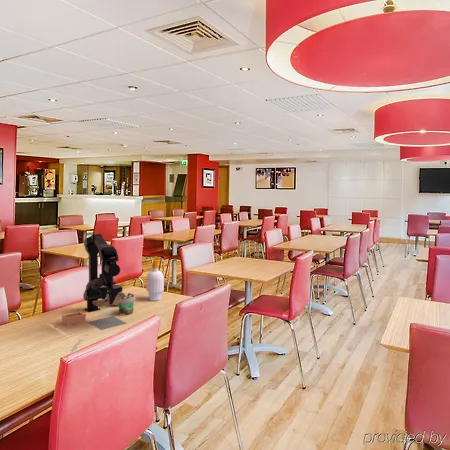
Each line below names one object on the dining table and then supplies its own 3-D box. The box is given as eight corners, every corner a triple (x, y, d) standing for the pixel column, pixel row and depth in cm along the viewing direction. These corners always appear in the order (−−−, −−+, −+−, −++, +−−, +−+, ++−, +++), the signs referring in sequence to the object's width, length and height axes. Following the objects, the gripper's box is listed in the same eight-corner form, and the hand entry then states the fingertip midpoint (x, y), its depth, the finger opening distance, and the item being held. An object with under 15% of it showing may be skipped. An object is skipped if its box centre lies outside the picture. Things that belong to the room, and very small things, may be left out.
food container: (129, 318, 206) (129, 300, 205) (118, 317, 207) (118, 299, 206) (138, 311, 218) (139, 293, 217) (128, 310, 219) (128, 292, 218)
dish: (62, 324, 195) (61, 315, 194) (80, 320, 201) (80, 311, 201) (66, 327, 191) (66, 318, 190) (85, 323, 198) (85, 314, 197)
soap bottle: (157, 302, 235) (158, 262, 233) (142, 300, 239) (143, 261, 236) (166, 298, 245) (167, 259, 242) (151, 296, 248) (152, 258, 246)
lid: (92, 304, 194) (92, 299, 194) (114, 299, 203) (114, 295, 202) (99, 307, 189) (99, 302, 189) (121, 302, 198) (121, 298, 198)
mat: (87, 323, 197) (87, 322, 197) (112, 317, 207) (112, 316, 207) (101, 331, 187) (101, 329, 187) (127, 324, 197) (127, 323, 197)
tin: (127, 307, 225) (127, 292, 224) (123, 308, 222) (123, 294, 221) (109, 302, 233) (109, 288, 232) (105, 303, 230) (105, 289, 229)
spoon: (91, 337, 181) (91, 334, 180) (73, 357, 160) (73, 353, 160) (82, 337, 181) (82, 333, 180) (62, 356, 160) (62, 353, 160)
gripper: (82, 270, 195) (83, 301, 197) (101, 277, 182) (101, 310, 184) (103, 267, 203) (103, 297, 205) (123, 274, 190) (122, 306, 192)
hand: (107, 302), depth 196 cm, fingers closed on lid, 7 cm apart
